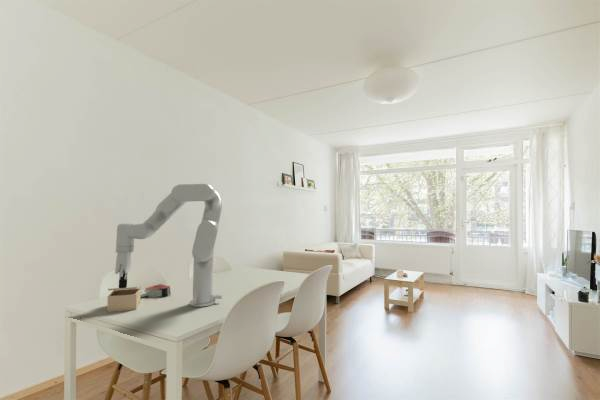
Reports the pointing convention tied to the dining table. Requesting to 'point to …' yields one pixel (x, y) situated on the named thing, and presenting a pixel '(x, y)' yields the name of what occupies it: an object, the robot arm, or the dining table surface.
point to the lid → (124, 288)
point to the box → (123, 300)
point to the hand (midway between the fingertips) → (122, 287)
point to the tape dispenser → (156, 291)
